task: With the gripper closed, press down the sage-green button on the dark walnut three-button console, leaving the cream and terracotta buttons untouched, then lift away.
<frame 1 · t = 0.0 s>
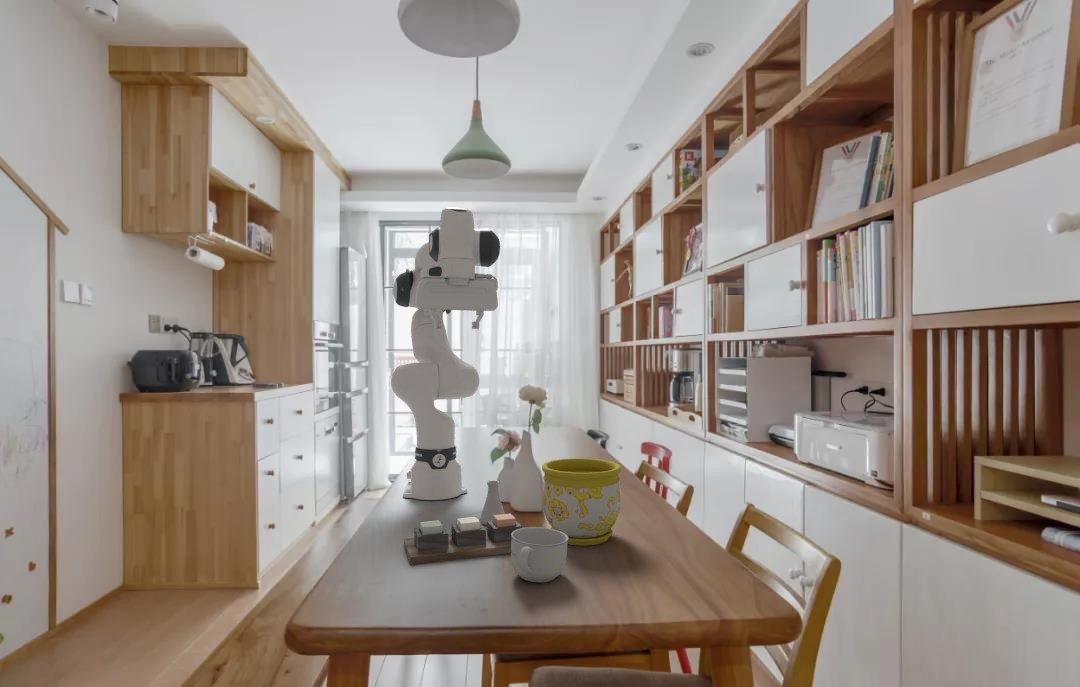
hand: (456, 328, 144), 48 cm above the table, fingers open, 8 cm apart
sage button: (431, 528, 124), point 5 cm above the table, slide at 0.0 cm
teacup: (535, 580, 109), on the table
cream button: (468, 524, 126), point 5 cm above the table, slide at 0.0 cm
flask: (493, 523, 145), on the table
button console: (468, 548, 126), on the table
terracotta button: (504, 521, 129), point 5 cm above the table, slide at 0.0 cm
flowerpot: (581, 537, 134), on the table
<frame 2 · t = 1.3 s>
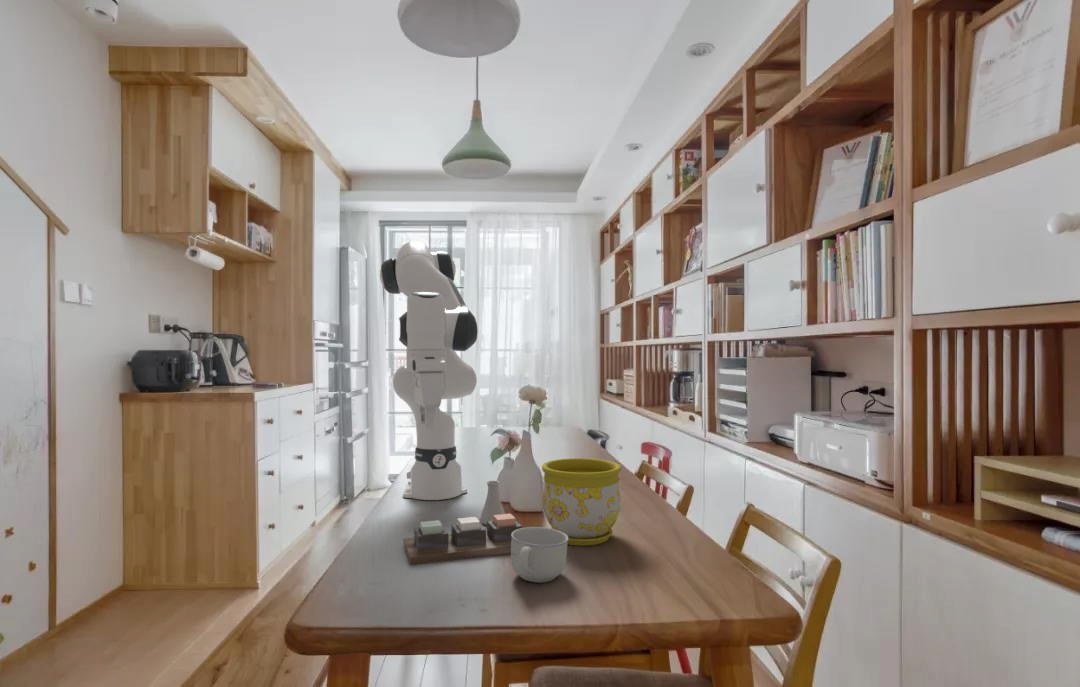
hand: (426, 425, 131), 26 cm above the table, fingers open, 8 cm apart
nothing on the table moved.
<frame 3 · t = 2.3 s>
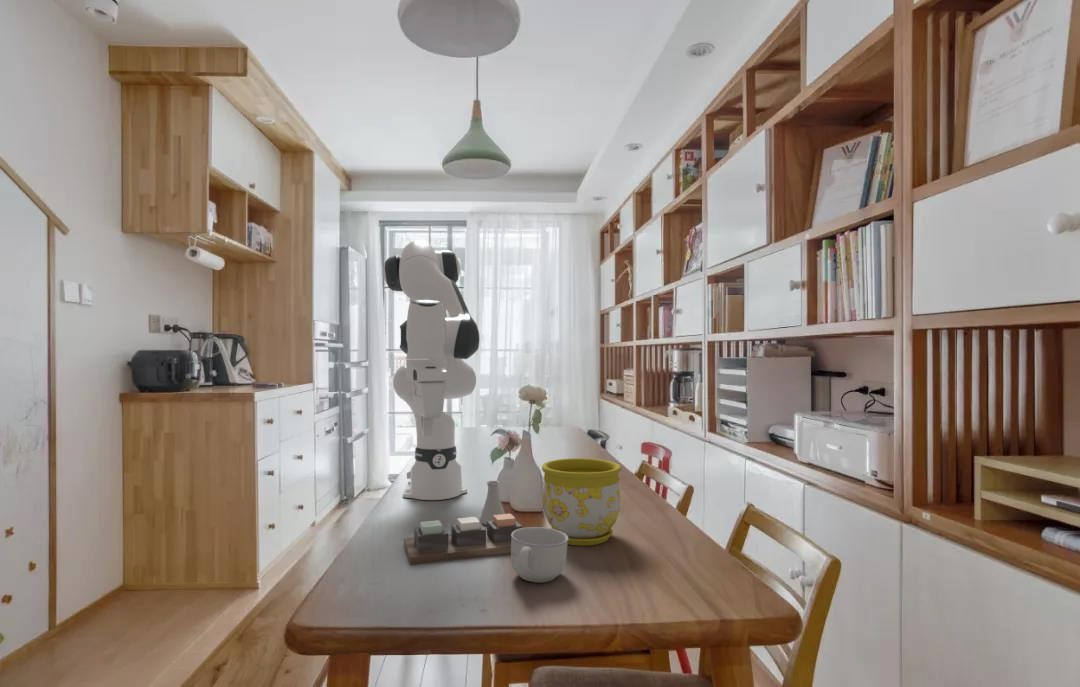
hand: (426, 435, 129), 24 cm above the table, fingers closed
nothing on the table moved.
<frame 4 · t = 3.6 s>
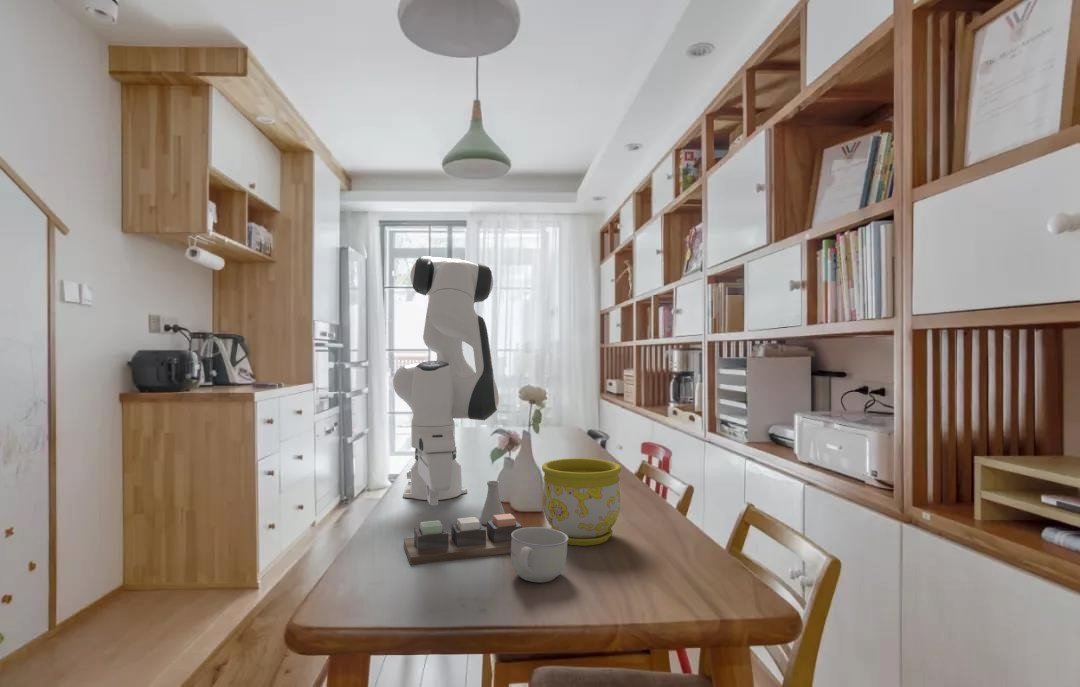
hand: (432, 503, 123), 10 cm above the table, fingers closed
nothing on the table moved.
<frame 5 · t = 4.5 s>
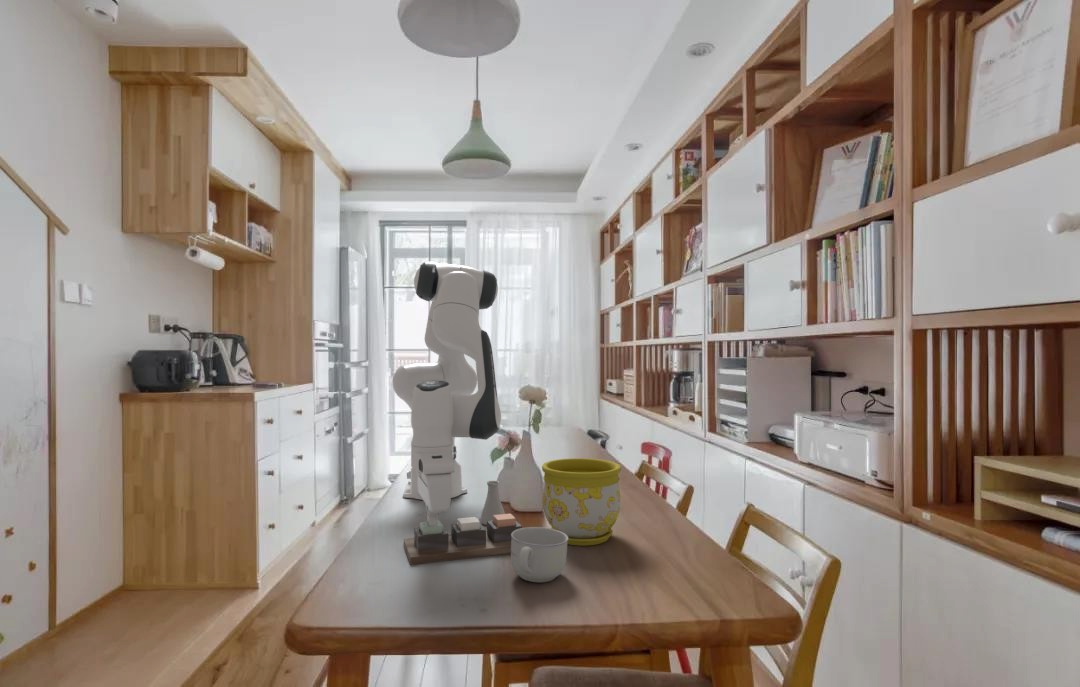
hand: (432, 523, 123), 6 cm above the table, fingers closed, pressing on sage button
sage button: (431, 528, 124), point 5 cm above the table, slide at 0.0 cm, touching gripper
everything else where it was.
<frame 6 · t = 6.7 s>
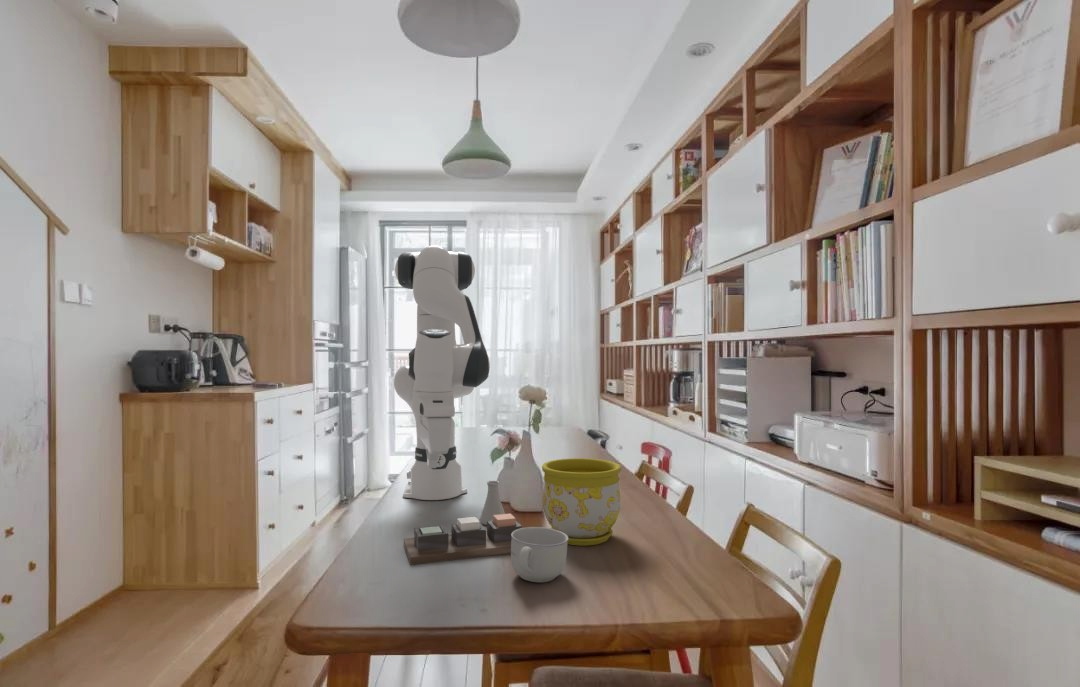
hand: (432, 466, 128), 17 cm above the table, fingers closed
sage button: (431, 534, 123), point 4 cm above the table, slide at 1.3 cm
everything else where it was.
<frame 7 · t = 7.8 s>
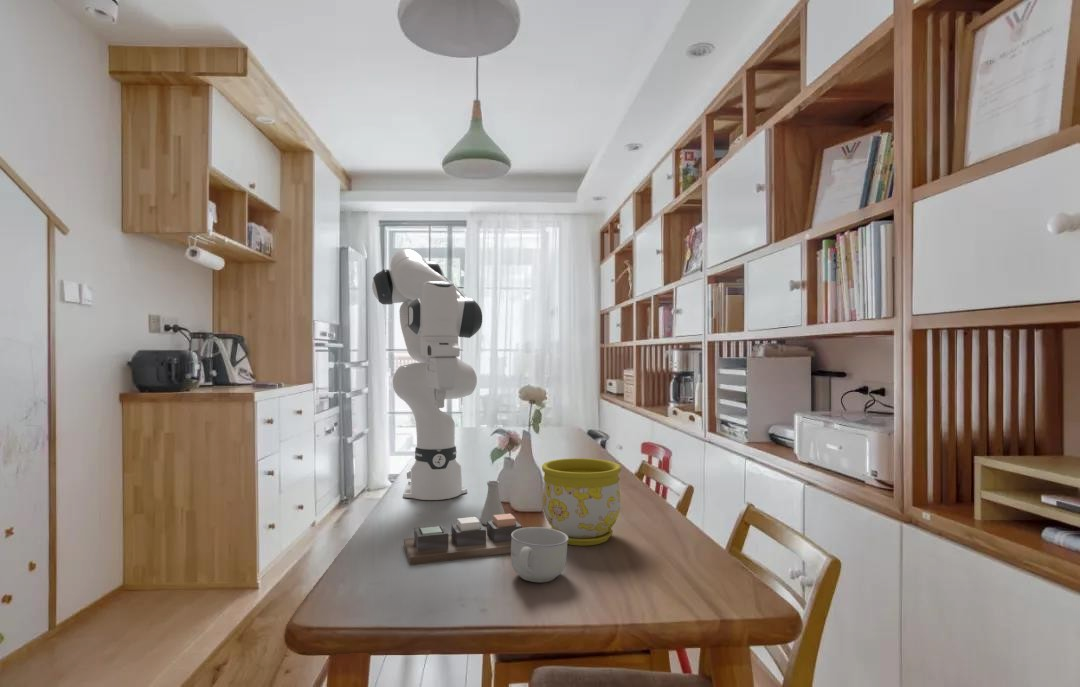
hand: (439, 407, 138), 29 cm above the table, fingers closed
nothing on the table moved.
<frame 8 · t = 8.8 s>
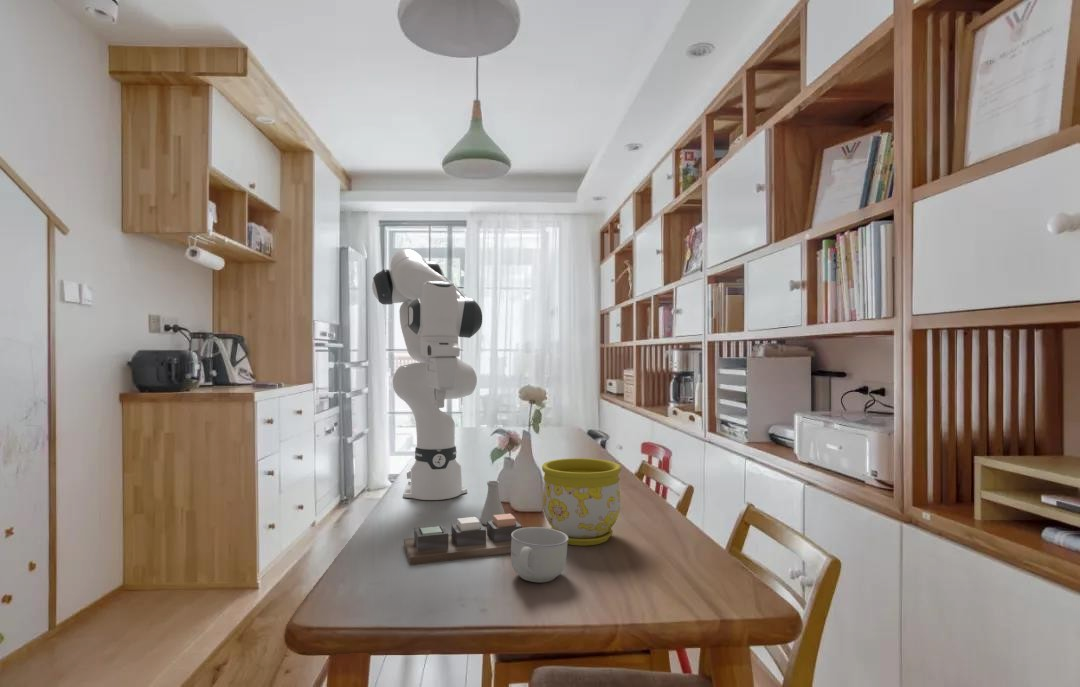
hand: (439, 407, 138), 29 cm above the table, fingers closed
nothing on the table moved.
at the end: sage button slide at 1.3 cm; cream button slide at 0.0 cm; terracotta button slide at 0.0 cm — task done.
